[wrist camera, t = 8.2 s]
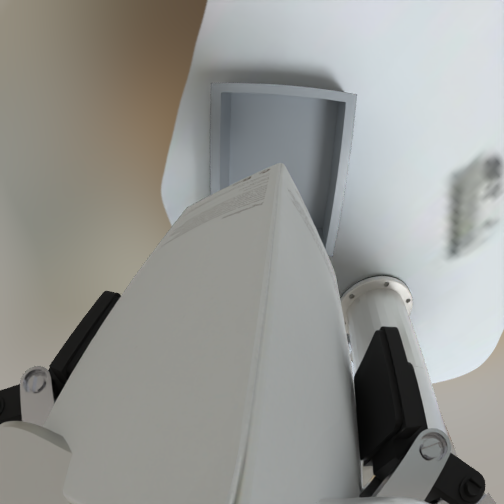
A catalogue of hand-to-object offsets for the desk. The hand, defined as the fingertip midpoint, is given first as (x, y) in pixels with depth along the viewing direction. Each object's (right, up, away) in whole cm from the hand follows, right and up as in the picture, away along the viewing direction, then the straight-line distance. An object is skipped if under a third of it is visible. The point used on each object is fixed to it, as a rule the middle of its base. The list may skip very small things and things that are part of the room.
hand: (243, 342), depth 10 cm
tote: (+4, +14, +24) cm, 28 cm away
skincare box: (+1, +4, +7) cm, 8 cm away
